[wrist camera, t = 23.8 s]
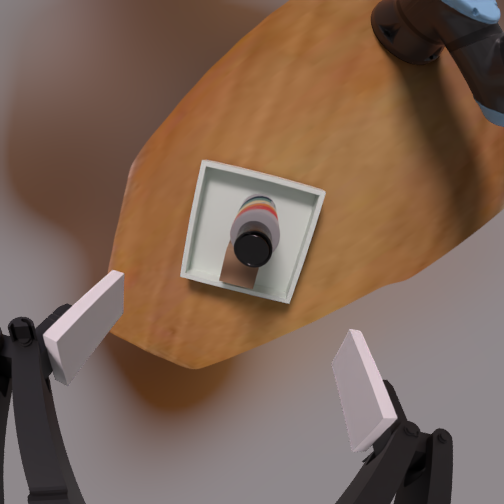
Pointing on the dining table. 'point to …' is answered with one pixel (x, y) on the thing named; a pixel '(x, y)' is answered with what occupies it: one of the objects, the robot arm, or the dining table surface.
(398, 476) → the robot arm
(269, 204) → the lotion bottle
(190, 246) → the tray
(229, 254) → the walnut block
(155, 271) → the dining table surface
